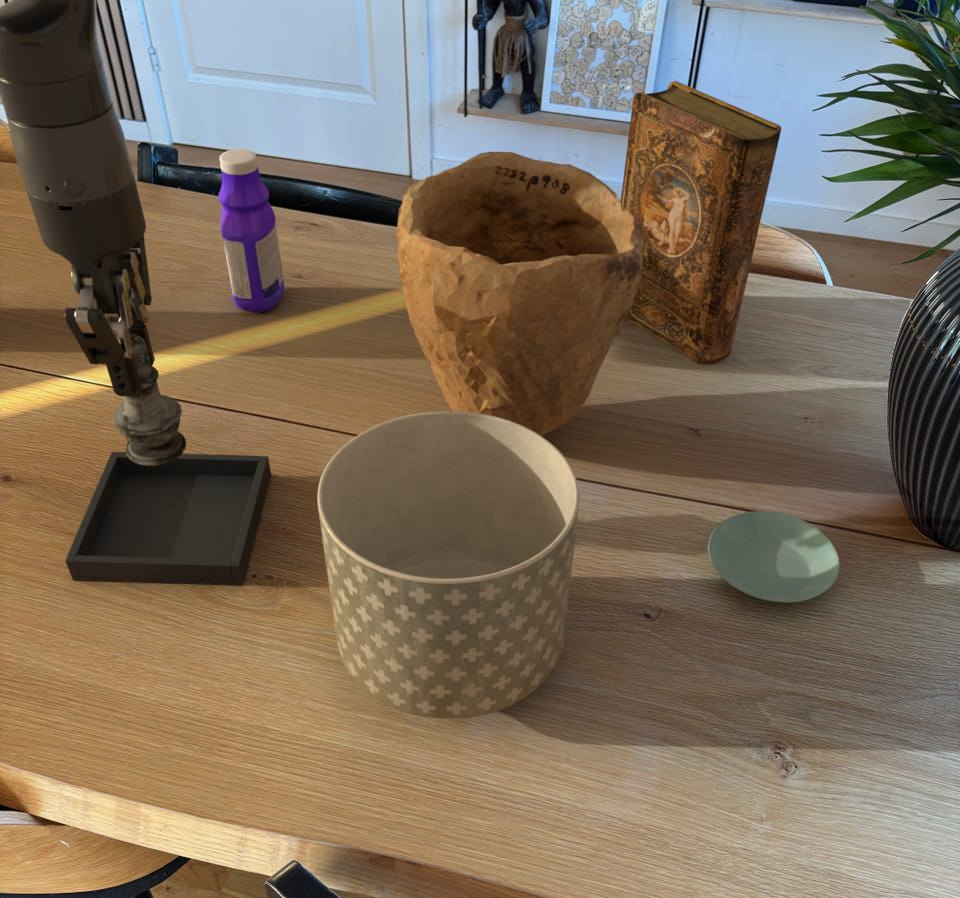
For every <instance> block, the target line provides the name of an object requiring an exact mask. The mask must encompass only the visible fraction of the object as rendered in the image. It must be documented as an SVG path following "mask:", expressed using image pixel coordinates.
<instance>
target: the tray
mask: <svg viewBox="0 0 960 898" xmlns="http://www.w3.org/2000/svg"><path fill="white" fill-rule="evenodd" d="M269 460H270V459H269V456H268V455H247V454H246V455H245V454H243V455H242V454H213V453H212V454H211V453H210V454H205V453H182V454H181V455H180V456H179V457H178V458H176V459H174V460H173V461H171V462H168V463H165V464H161V465H155V466H146V465H140V464H137V463H135V462H133V461H132V460H130V459H129V458H128V456H127V454H126V451H111V452H110V455H109V458H108V460H107V462H106V464H105V467H104V469H103V471H102V474H101V476H100V477H99V480H98V483H97V485H96V487H95V490H94V492H93V495H92V497H91V498H90V502H89V504H88V506H87V508H86V511H85V513H84V515H83V518H82V521H81V523H80V524H79V527H78V529H77V532H76V535H75V536H74V539H73V541H72V543H71V546H70V548H69V550H68V552H67V555H66V557H65V560H64V562H65V564H66V568H67V569H68V572H69V574H70V576H71V579H72V581H79V582H81V581H84V582H85V581H86V582H114V583H115V582H117V583H118V582H119V583H147V584H149V583H150V584H151V583H152V584H153V583H154V584H183V585H184V584H186V585H188V584H189V585H221V586H244V585H245V581H246V578H247V574H248V569H249V565H250V561H251V559H252V558H251V557H252V553H253V549H254V547H255V546H254V545H255V542H256V538H257V534H258V530H259V527H260V526H259V525H260V522H261V518H262V514H263V511H264V507H265V502H266V499H267V495H268V492H269V491H268V490H269V487H270V483H271V480H272V471H271V466H270V461H269Z"/></svg>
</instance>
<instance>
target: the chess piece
mask: <svg viewBox="0 0 960 898" xmlns="http://www.w3.org/2000/svg"><path fill="white" fill-rule="evenodd" d="M129 335H130V340H131V346H132V350H133V354H134V357H135V361H136V365H137V368H138V372H139V376H140V379H141V383H142V386H143V390H142V392H141V394H140V396H138V397H129V396H122V397H123V401H122V403H120V404H119V405H118V406H117V407H116V409H115V410H114V411H113V413H112V416H111V419H112V424H113V426H114V427H115V429H117V430H119V432H120V434H121V435H122V437H124V439H125V440H126V441H127V443H126V445H125V452H126V454H127V456H128V458H129V459H130V460H132V461H133V462H135V463H137V464H140V465H146V466H155V465H161V464H165V463H168V462H171V461H173V460H174V459H176V458H178V457H179V456H180V455H181V454H184V452H185V450H186V448H187V440H186V438H185V436H184V434H182V433H181V432H179V428H180V424H181V417H182V414H183V410H182V405H181V404H180V403H179V402H178V400H176V399H175V398H173V397H171V396H168V395H167V394H161V391H160V387H159V385H158V379H159V377H160V376H159V375H160V373H159V371H158V369H157V368H156V367H154V365H153V366H152V365H151V361H150V357H149V353H148V349H147V346H146V343H145V341H144V340H143V339H142V338H141V337H140V336H138V335H135V334H130V333H129ZM116 338H117V340H118V342H119V337H118V335H116ZM119 343H120V342H119Z"/></svg>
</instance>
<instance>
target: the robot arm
mask: <svg viewBox="0 0 960 898" xmlns="http://www.w3.org/2000/svg"><path fill="white" fill-rule="evenodd" d="M0 100H1V102H2V106H3V110H4V112H5V116H6V120H7V125H8V129H9V135H10V141H11V146H12V150H13V153H14V157H15V160H16V163H17V166H18V169H19V172H20V176H21V178H22V181H23V184H24V188H25V191H26V195H27V197H28V201H29V203H30V207H31V210H32V214H33V216H34V218H35V222H36V225H37V228H38V232H39V235H40V238H41V240H42V242H43V244H44V245H45V247H46V248H47V249H49V250H50V251H51V252H53V253H55V254H56V255H59V256H60V257H62V258H63V259H65V260H66V261H68V262H69V263H70V269H71V280H72V286H73V290H74V291H75V293H76V294H77V296H78V300H77V304H76V307H65V309H64V320H65V324H66V325H67V326H68V329H69V330H70V332H71V333H72V335H73V337H74V338H75V340H76V341H77V343H78V346H79V347H80V349H81V350H82V352H83V354H84V356H85V357H86V359H87V361H88V363H89V364H90V365H105V366H106V370H107V373H108V377H109V379H110V383H111V386H112V390H113V392H114V394H115V395H116V396H118V397H123V396H129V397H138V396H140V394H141V392H142V390H143V386H142V383H141V379H140V376H139V372H138V368H137V365H136V361H135V357H134V354H133V350H132V346H131V340H130V335H129V333H130V334H135V335H138V336H140V337H141V338H142V339H143V340H144V341H145V343H146V346H147V349H148V353H149V357H150V361H151V365H152V366H153V367H154V363H155V360H156V358H155V354H154V349H153V346H152V342H151V338H150V334H149V332H148V331H149V330H148V327H147V324H148V322H149V313H148V310H147V308H146V306H151V305H152V300H153V296H152V292H151V283H150V276H149V268H148V267H149V266H148V259H147V252H146V251H147V250H146V243H145V233H146V229H147V224H146V219H145V215H144V211H143V206H142V202H141V199H140V193H139V190H138V186H137V182H136V177H135V173H134V170H133V165H132V161H131V157H130V156H131V155H130V152H129V148H128V144H127V141H126V136H125V133H124V130H123V127H122V124H121V122H120V119H119V117H118V114H117V112H116V109H115V105H114V102H113V97H112V94H111V89H110V85H109V81H108V77H107V73H106V68H105V65H104V60H103V57H102V52H101V48H100V44H99V38H98V26H97V0H9V1H7V2H5V4H3V5H1V6H0ZM109 315H112V316H109ZM115 333H116V334H117V335H115ZM117 336H118V337H119V342H120V343H119V342H118V340H117V338H116V337H117Z"/></svg>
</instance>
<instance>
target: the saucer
mask: <svg viewBox="0 0 960 898" xmlns="http://www.w3.org/2000/svg"><path fill="white" fill-rule="evenodd" d="M707 551H708V557H709V559H710V562H711V564H712V566H713V568H714V569H715V571H716V572H717V573H718V575H720V577H721V578H723V580H724V581H725V582H727V583H728V584H729V585H731V586H732V587H734V589H736V590H738V591H740V592H741V593H743V594H746V595H747V596H750V597H752V598H755V599H758V600H762V601H766V602H770V603H771V602H772V603H798V602H804V601H808V600H811V599H814V598H817V597H819V596H820V595H822V594H824V593H826V592H827V591H828V590H829V589H830V588H831V587H832V586H833V585H834V584H835V582H836V581H837V579H838V576H839V573H840V558H839V555H838V552H837V550H836V548H835V546H834V544H833V543H832V541H831V540H830V539H829V538H828V537H827V536H826V535H825V534H824V533H823V532H822V531H821V530H819V529H818V528H817V527H815V526H814V525H813V524H811V523H809V522H807V521H805V520H803V519H802V518H799V517H798V516H793V515H791V514H786V513H783V512H778V511H770V510H756V511H747V512H741V513H738V514H735V515H732V516H730V517H728V518H726V519H724V520H723V521H721V522H720V523H719V524H718V525H717V526H716V527H715V528H714V529H713V531H712V533H711V534H710V537H709V539H708V546H707Z"/></svg>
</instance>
